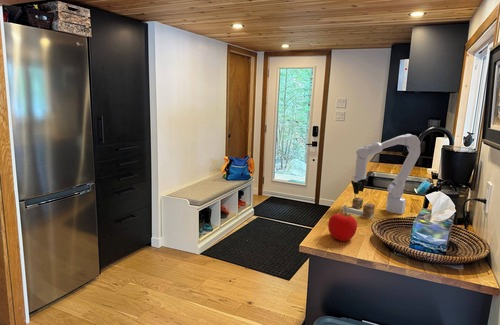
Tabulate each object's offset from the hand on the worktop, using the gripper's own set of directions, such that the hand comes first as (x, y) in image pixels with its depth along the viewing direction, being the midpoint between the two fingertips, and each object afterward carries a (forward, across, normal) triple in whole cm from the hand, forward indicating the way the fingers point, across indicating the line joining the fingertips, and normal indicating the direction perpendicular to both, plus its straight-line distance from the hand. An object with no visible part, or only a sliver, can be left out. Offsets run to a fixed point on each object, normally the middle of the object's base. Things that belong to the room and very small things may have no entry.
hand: (358, 192), depth 188 cm
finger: (+9, +10, +10) cm, 16 cm away
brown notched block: (+10, 0, 0) cm, 10 cm away
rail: (+10, +10, +4) cm, 14 cm away
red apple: (+10, +46, +10) cm, 48 cm away
